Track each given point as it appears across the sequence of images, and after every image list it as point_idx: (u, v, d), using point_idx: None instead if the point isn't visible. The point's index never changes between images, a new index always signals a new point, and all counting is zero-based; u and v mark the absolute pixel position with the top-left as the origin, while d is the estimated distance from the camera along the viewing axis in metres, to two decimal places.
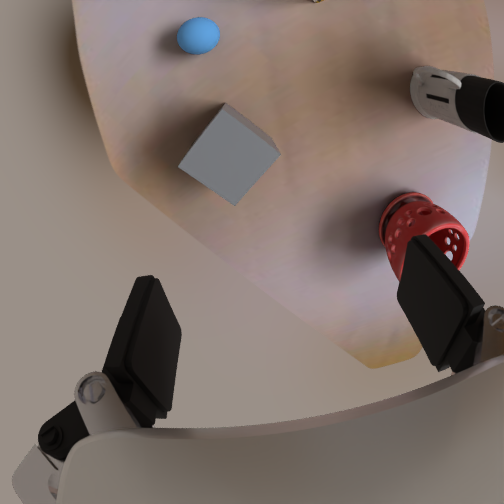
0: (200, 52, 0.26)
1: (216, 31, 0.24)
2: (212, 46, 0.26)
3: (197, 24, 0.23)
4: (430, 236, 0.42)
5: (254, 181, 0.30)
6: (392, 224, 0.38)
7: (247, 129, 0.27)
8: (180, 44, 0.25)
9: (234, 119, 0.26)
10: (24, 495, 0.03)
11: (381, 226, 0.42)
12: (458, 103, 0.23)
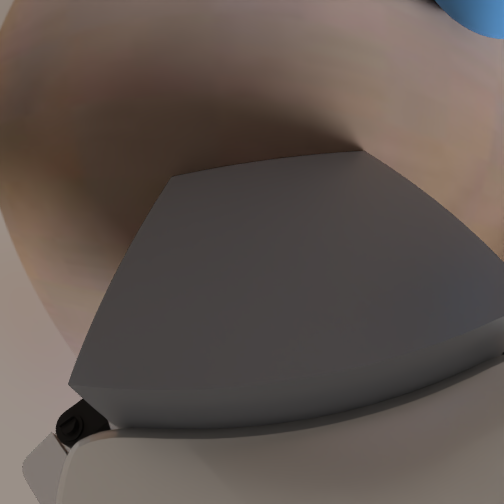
0: (471, 6, 0.04)
1: None
2: (497, 32, 0.04)
3: None
4: None
5: None
6: None
7: None
8: None
9: None
10: (34, 482, 0.04)
11: None
12: None
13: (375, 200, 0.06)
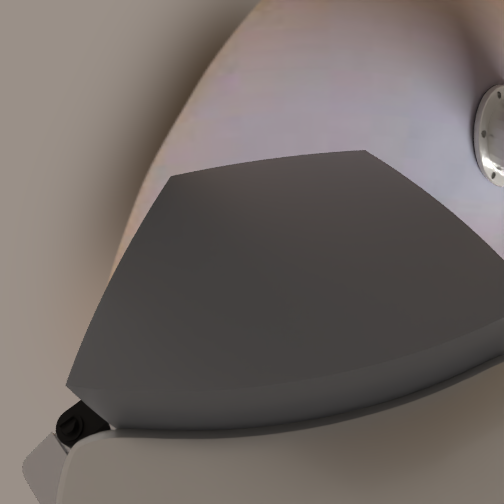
0: None
1: None
2: None
3: None
4: None
5: None
6: None
7: None
8: None
9: None
10: (34, 482, 0.04)
11: None
12: None
13: (376, 199, 0.06)
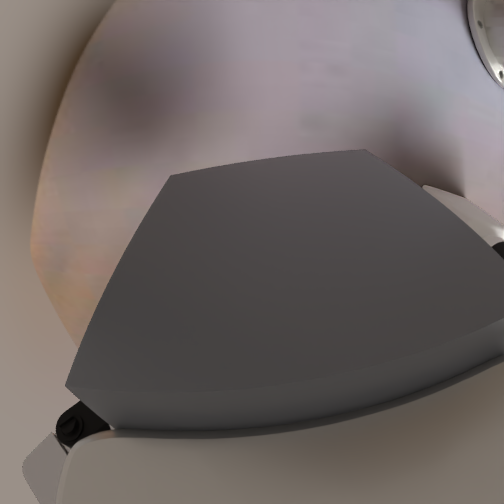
0: None
1: None
2: None
3: None
4: None
5: None
6: None
7: None
8: None
9: None
10: (34, 482, 0.04)
11: None
12: None
13: (376, 199, 0.06)
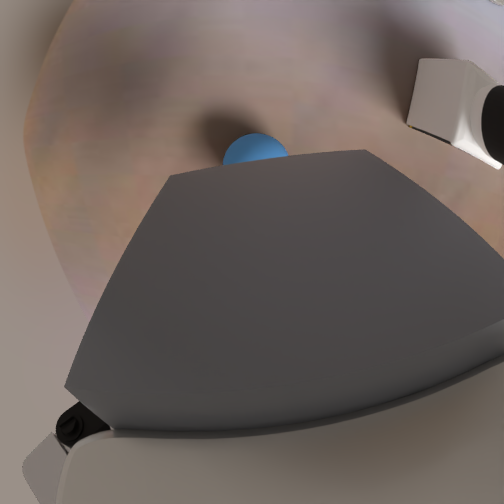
0: (232, 145, 0.19)
1: (275, 139, 0.20)
2: (252, 137, 0.19)
3: None
4: None
5: None
6: None
7: None
8: None
9: None
10: (34, 482, 0.04)
11: None
12: None
13: (376, 199, 0.06)
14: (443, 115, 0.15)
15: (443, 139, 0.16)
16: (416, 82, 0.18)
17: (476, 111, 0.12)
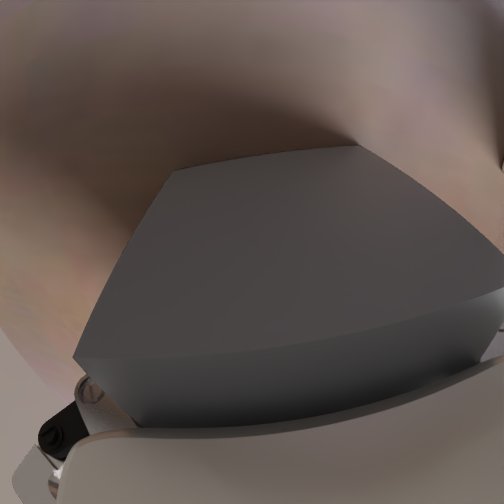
0: None
1: None
2: None
3: None
4: None
5: None
6: None
7: None
8: None
9: (490, 338, 0.04)
10: (24, 495, 0.03)
11: None
12: None
13: (368, 189, 0.07)
14: None
15: None
16: None
17: None
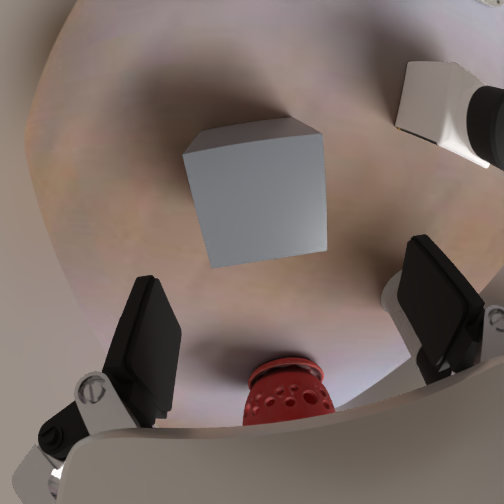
0: None
1: None
2: None
3: None
4: None
5: (265, 258, 0.18)
6: (270, 386, 0.34)
7: (323, 188, 0.16)
8: None
9: (322, 161, 0.15)
10: (24, 495, 0.03)
11: (257, 373, 0.38)
12: None
13: (280, 126, 0.18)
14: (430, 117, 0.17)
15: (430, 140, 0.17)
16: (404, 85, 0.19)
17: (461, 112, 0.14)
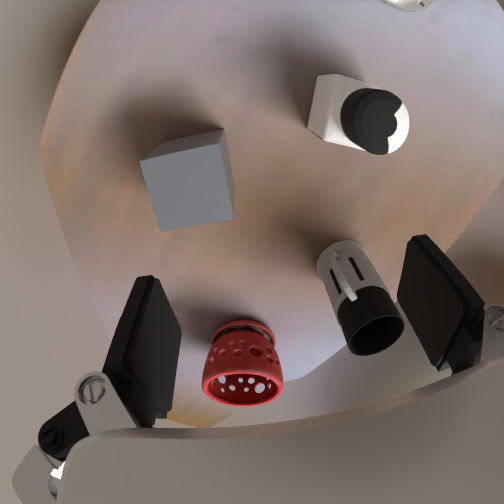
0: None
1: None
2: None
3: None
4: None
5: (193, 224, 0.28)
6: (224, 341, 0.44)
7: (224, 177, 0.26)
8: None
9: (221, 160, 0.25)
10: (25, 495, 0.03)
11: (217, 332, 0.47)
12: (345, 303, 0.33)
13: (205, 138, 0.27)
14: (321, 119, 0.26)
15: (320, 137, 0.26)
16: None
17: (338, 113, 0.23)
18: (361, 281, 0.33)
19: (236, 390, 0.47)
